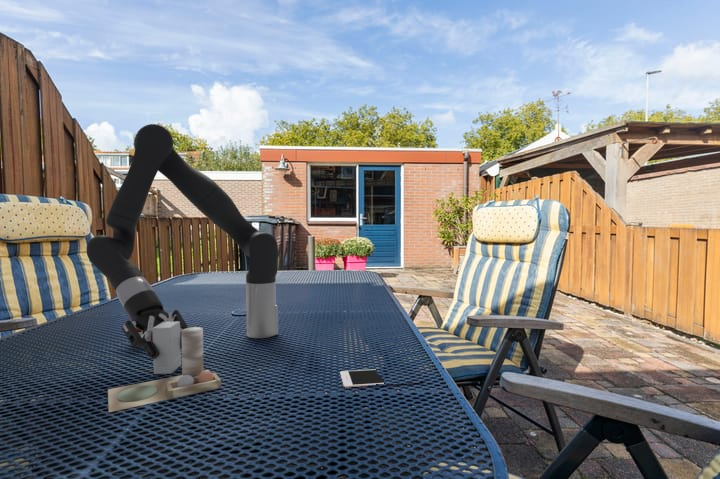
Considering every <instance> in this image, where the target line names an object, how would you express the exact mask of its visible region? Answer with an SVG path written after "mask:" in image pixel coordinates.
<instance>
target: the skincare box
mask: <svg viewBox="0 0 720 479" xmlns="http://www.w3.org/2000/svg"><path fill="white" fill-rule="evenodd" d="M152 332H153V342H154V344H155V346H156V347H157V349H158V351H159V353H160V355H159V356H158V357H157V358H156V359H152V362H153V374H154V375H160V374H161V375H164V374H165V375H166V374H168V375H169V374H173V373H174V372H175V371H176V370H178V369H179V367H181V366H182V349H181V343H180V322H179V321H175V322H162V323H160V324H159V325H157V326H155V327H154V328H152Z"/></svg>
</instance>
